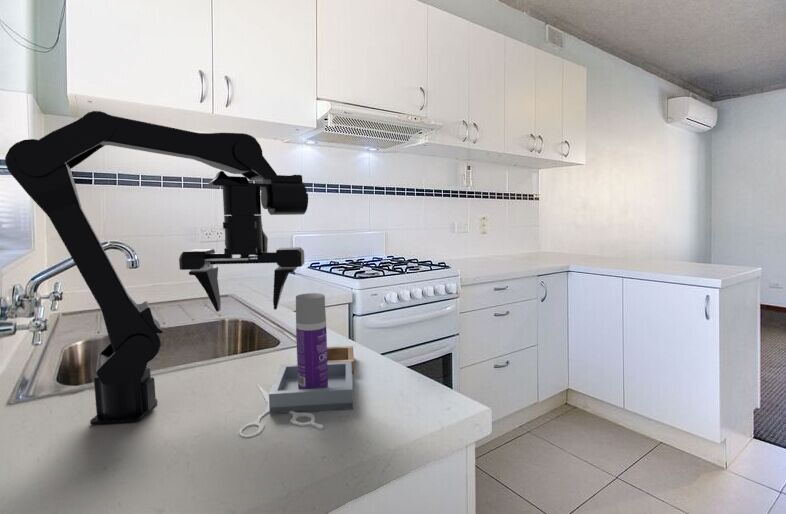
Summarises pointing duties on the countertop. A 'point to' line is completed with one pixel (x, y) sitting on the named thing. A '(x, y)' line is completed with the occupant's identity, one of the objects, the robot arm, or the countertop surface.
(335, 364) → the tray
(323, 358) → the container
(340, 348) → the holder
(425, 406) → the countertop surface
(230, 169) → the robot arm
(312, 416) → the scissors
